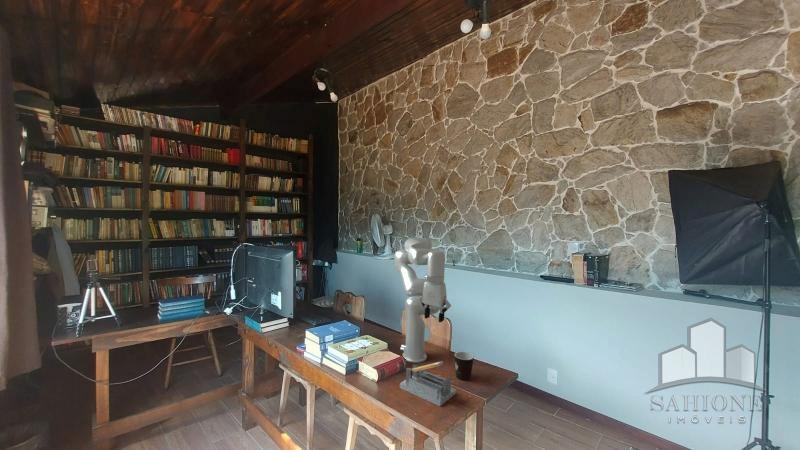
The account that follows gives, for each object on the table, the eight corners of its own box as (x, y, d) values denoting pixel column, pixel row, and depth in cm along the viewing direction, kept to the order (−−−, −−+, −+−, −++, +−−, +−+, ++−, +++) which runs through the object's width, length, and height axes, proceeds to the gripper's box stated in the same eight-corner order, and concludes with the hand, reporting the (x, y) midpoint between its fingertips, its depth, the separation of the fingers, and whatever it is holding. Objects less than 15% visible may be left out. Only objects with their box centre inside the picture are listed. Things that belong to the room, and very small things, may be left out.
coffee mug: (473, 383, 146) (473, 360, 145) (453, 380, 147) (454, 358, 147) (472, 371, 157) (473, 350, 157) (454, 368, 159) (455, 348, 158)
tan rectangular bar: (409, 374, 142) (408, 370, 143) (414, 371, 145) (412, 367, 145) (439, 367, 132) (437, 362, 133) (443, 364, 135) (442, 360, 136)
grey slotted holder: (399, 387, 140) (400, 369, 140) (416, 377, 149) (417, 360, 149) (439, 406, 127) (440, 386, 127) (455, 393, 137) (456, 374, 136)
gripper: (414, 277, 147) (413, 317, 148) (448, 283, 136) (446, 326, 137) (424, 275, 153) (422, 313, 154) (457, 281, 142) (455, 322, 143)
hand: (434, 319), depth 145 cm, fingers open, 6 cm apart
